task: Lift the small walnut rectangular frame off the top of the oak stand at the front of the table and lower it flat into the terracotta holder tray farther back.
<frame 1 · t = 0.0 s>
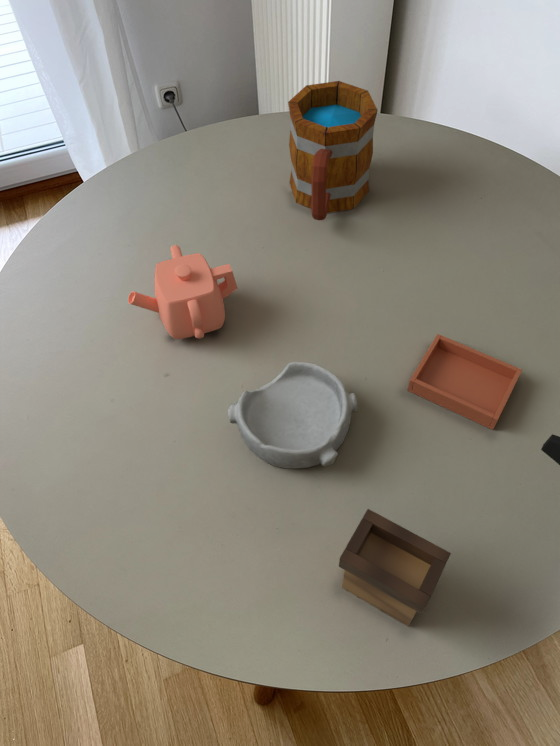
dish: (296, 427, 83), on the table
teapot: (188, 316, 94), on the table
mug: (326, 199, 108), on the table
stand: (384, 586, 71), on the table
holder: (462, 385, 86), on the table
frame: (392, 563, 65), point 7 cm above the table, touching stand
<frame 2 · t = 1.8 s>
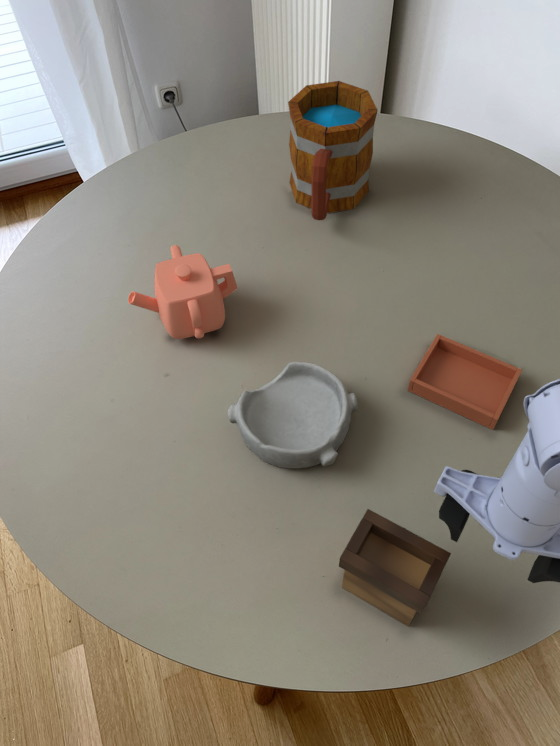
hand: (495, 552, 62), 10 cm above the table, tool pointing down, fingers open, 7 cm apart
nothing on the table moved.
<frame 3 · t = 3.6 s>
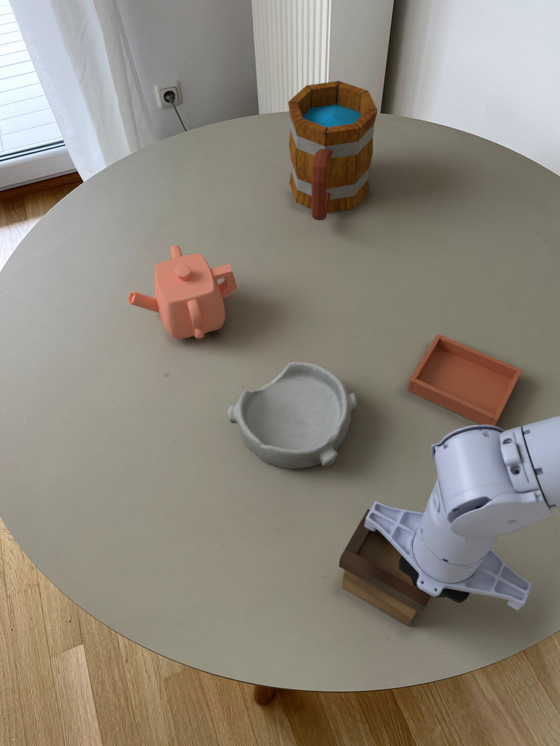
hand: (429, 583, 63), 8 cm above the table, tool pointing down, fingers closed on frame, 1 cm apart
frame: (392, 563, 65), point 7 cm above the table, touching gripper, stand
everything else where it was.
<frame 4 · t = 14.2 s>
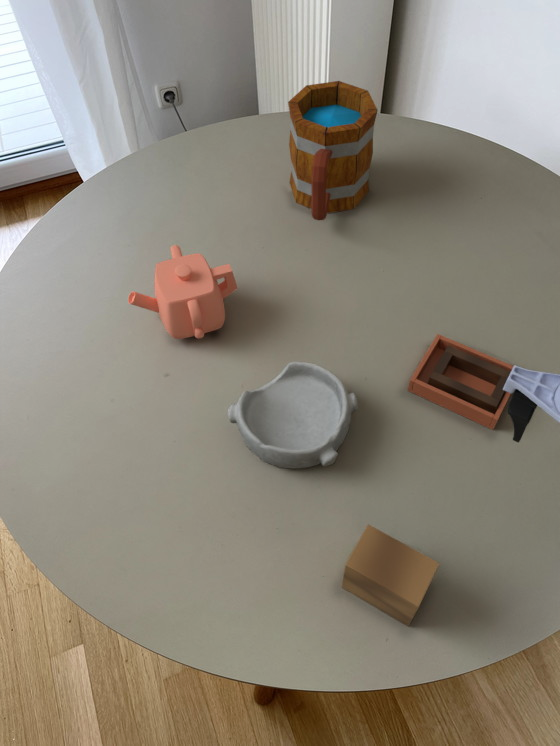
hand: (554, 450, 68), 10 cm above the table, tool pointing down, fingers open, 7 cm apart
frame: (467, 385, 85), resting on holder
everything else where it was.
at the end: frame 0.6 cm off-centre in the holder, point 0.5 cm above the holder's base; frame tilted 0°; the gripper is holding nothing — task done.
